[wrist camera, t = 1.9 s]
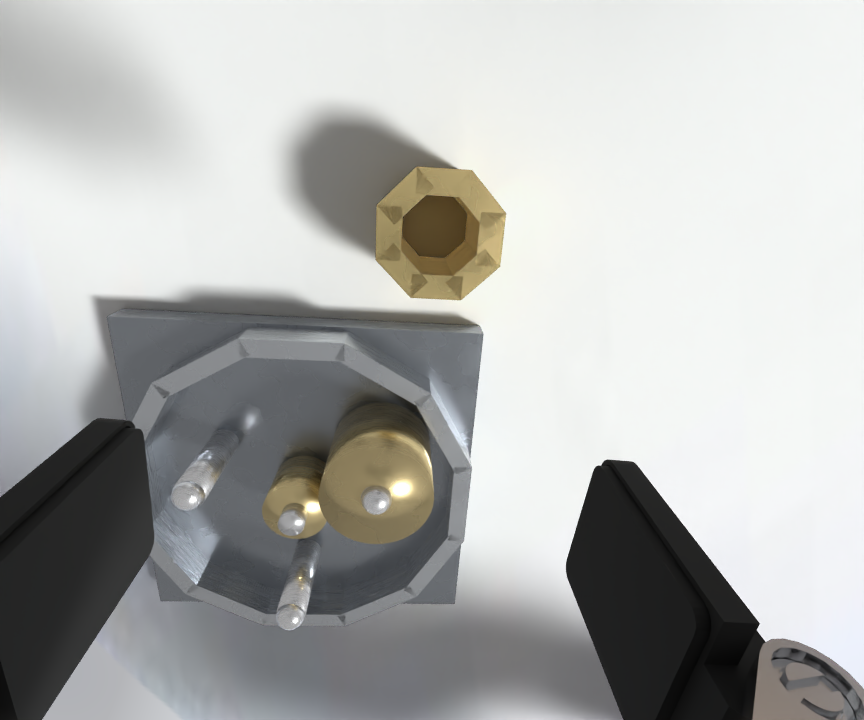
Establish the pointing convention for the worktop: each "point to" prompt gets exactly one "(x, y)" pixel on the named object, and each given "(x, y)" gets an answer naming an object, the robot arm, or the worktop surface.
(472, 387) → the carrier
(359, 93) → the worktop surface
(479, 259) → the gear
